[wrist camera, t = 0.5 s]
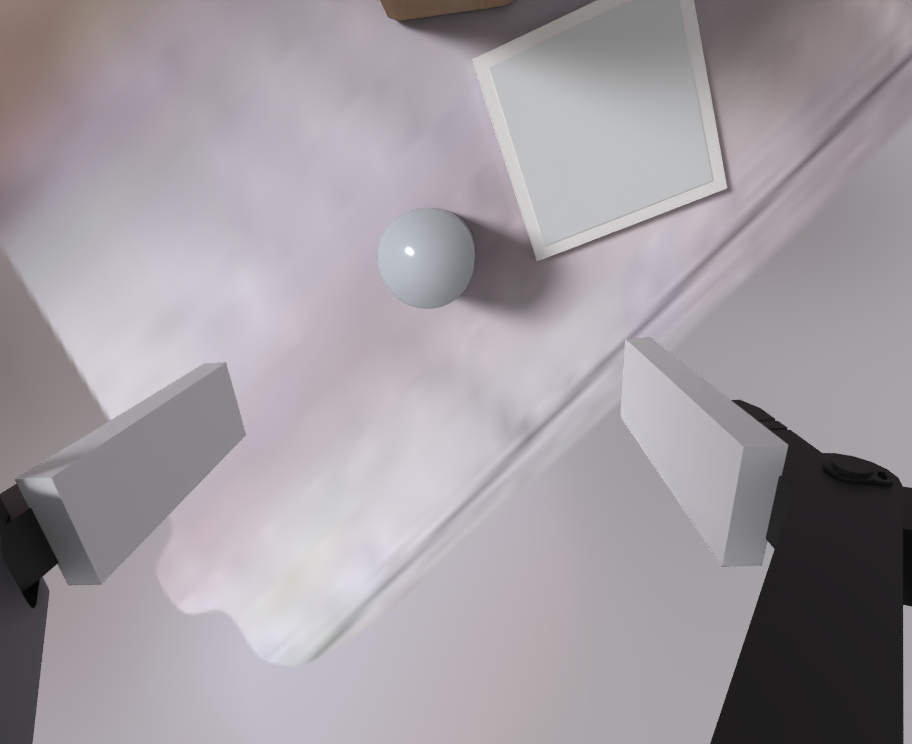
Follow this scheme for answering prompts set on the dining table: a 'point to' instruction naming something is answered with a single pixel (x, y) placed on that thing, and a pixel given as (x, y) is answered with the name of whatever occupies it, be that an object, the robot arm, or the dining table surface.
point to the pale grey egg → (427, 257)
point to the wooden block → (434, 7)
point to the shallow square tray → (603, 119)
